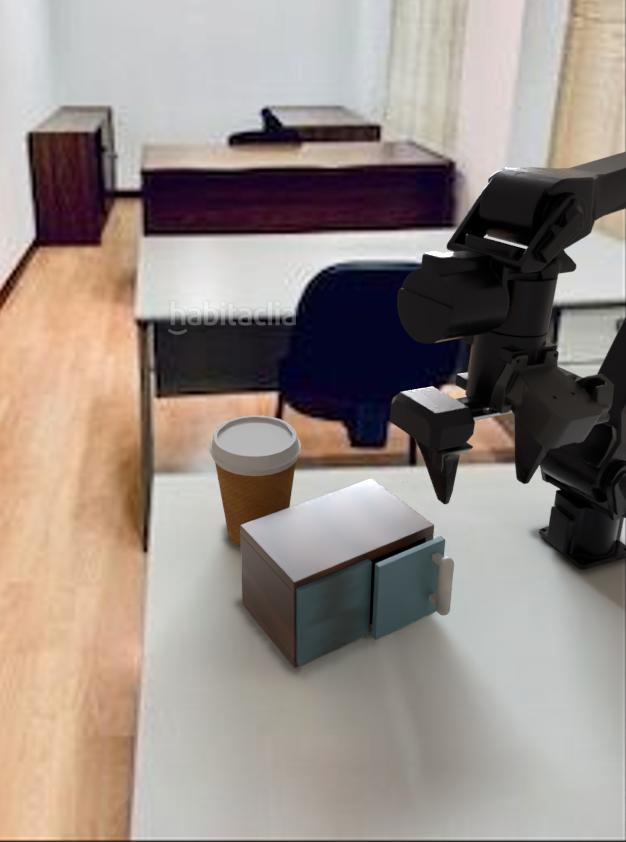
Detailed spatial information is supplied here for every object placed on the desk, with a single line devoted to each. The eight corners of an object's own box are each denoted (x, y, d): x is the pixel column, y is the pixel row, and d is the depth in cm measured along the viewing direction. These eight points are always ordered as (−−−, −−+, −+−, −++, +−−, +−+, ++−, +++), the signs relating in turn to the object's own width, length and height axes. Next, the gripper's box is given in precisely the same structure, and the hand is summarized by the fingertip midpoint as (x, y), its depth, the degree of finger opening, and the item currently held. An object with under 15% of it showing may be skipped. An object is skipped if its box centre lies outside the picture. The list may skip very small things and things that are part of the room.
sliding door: (435, 606, 70) (441, 535, 67) (456, 624, 68) (463, 552, 65) (371, 636, 67) (374, 563, 64) (391, 656, 65) (395, 582, 62)
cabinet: (368, 552, 79) (371, 477, 75) (432, 609, 71) (439, 528, 68) (242, 604, 72) (239, 524, 69) (297, 673, 64) (298, 587, 61)
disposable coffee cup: (295, 565, 77) (295, 462, 73) (203, 555, 79) (198, 454, 75) (305, 511, 86) (306, 416, 81) (223, 503, 88) (219, 410, 83)
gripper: (495, 376, 52) (464, 569, 57) (676, 345, 60) (634, 517, 65) (396, 325, 61) (376, 494, 66) (563, 304, 69) (534, 457, 74)
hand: (483, 491), depth 67 cm, fingers open, 9 cm apart
